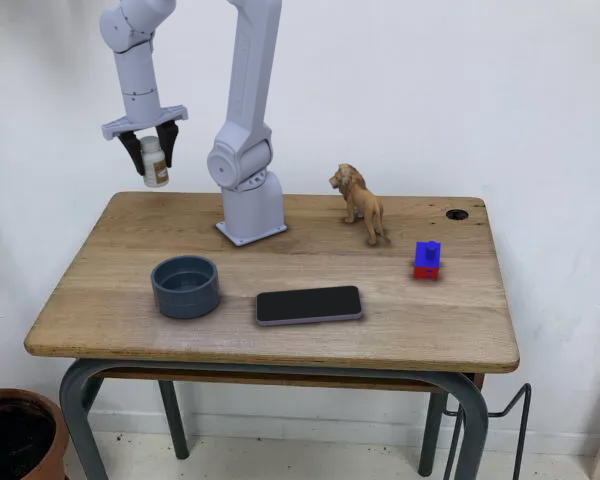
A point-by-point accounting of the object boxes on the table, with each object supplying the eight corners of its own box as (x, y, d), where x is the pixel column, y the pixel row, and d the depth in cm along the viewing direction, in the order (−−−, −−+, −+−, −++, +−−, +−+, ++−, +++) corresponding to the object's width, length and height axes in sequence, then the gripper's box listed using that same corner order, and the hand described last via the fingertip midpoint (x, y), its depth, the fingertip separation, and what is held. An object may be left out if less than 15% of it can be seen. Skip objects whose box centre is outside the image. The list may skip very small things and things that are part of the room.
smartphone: (256, 292, 101) (357, 284, 101) (256, 298, 102) (357, 290, 102) (256, 322, 96) (363, 314, 96) (256, 329, 97) (363, 320, 97)
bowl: (203, 276, 106) (199, 248, 103) (232, 306, 100) (228, 277, 97) (146, 297, 103) (140, 268, 99) (172, 329, 97) (167, 300, 94)
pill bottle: (164, 189, 120) (156, 145, 114) (140, 187, 121) (131, 144, 115) (172, 177, 123) (165, 134, 118) (149, 176, 124) (141, 133, 118)
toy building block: (412, 283, 106) (415, 256, 98) (414, 259, 107) (417, 231, 100) (436, 285, 105) (440, 258, 98) (438, 260, 107) (442, 232, 99)
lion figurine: (325, 214, 119) (324, 164, 113) (350, 205, 121) (351, 155, 115) (378, 251, 110) (380, 199, 103) (404, 241, 112) (408, 189, 105)
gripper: (170, 72, 116) (182, 150, 125) (87, 91, 111) (107, 172, 120) (188, 84, 111) (200, 164, 121) (102, 105, 106) (121, 187, 116)
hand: (154, 169), depth 120 cm, fingers closed on pill bottle, 4 cm apart
